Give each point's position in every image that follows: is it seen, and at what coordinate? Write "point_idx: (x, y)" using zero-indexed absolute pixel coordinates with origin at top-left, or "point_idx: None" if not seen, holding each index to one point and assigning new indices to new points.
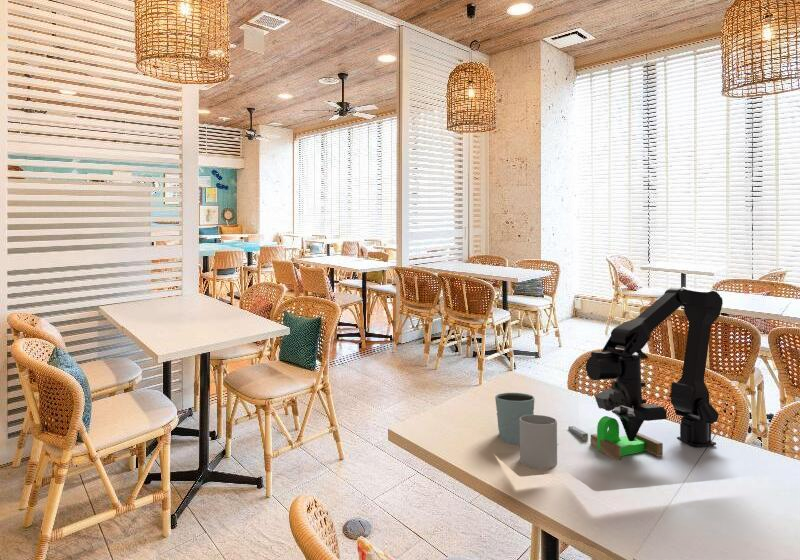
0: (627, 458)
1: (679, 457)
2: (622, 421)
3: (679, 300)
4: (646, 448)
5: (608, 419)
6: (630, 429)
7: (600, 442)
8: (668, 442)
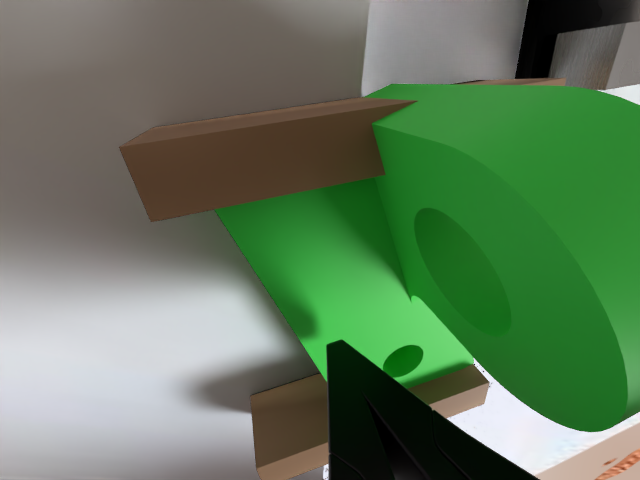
0: (199, 238)
1: (233, 461)
2: (478, 475)
3: None
4: None
5: (620, 341)
6: (329, 454)
7: (392, 101)
8: None
